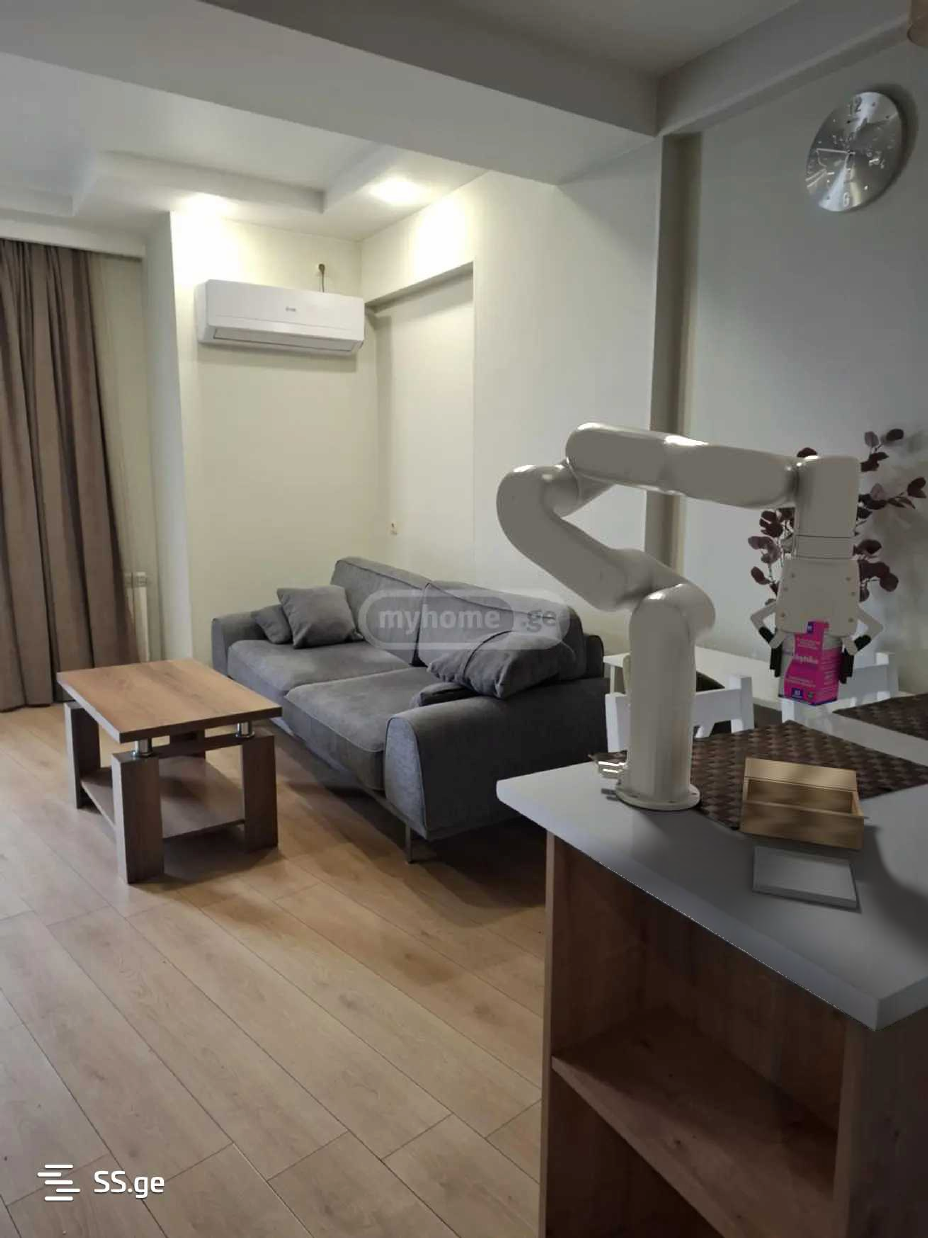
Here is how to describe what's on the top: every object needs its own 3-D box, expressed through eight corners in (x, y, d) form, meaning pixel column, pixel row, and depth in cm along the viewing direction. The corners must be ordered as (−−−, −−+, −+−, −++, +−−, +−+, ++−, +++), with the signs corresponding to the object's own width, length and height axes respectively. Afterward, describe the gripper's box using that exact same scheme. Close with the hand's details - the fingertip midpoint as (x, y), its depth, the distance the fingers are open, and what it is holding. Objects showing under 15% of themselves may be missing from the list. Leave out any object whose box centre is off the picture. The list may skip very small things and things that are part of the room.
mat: (752, 890, 98) (753, 882, 97) (754, 853, 108) (755, 845, 108) (855, 908, 94) (856, 900, 94) (847, 867, 104) (848, 860, 104)
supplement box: (775, 697, 114) (783, 615, 113) (799, 692, 118) (807, 612, 116) (815, 707, 110) (823, 622, 108) (838, 701, 113) (847, 618, 111)
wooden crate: (738, 843, 111) (741, 799, 110) (743, 795, 128) (746, 757, 127) (864, 863, 105) (869, 817, 104) (851, 810, 123) (855, 770, 122)
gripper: (752, 548, 110) (741, 678, 113) (898, 555, 104) (883, 692, 107) (753, 544, 117) (743, 667, 120) (890, 551, 111) (876, 679, 114)
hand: (809, 678), depth 113 cm, fingers closed on supplement box, 7 cm apart
